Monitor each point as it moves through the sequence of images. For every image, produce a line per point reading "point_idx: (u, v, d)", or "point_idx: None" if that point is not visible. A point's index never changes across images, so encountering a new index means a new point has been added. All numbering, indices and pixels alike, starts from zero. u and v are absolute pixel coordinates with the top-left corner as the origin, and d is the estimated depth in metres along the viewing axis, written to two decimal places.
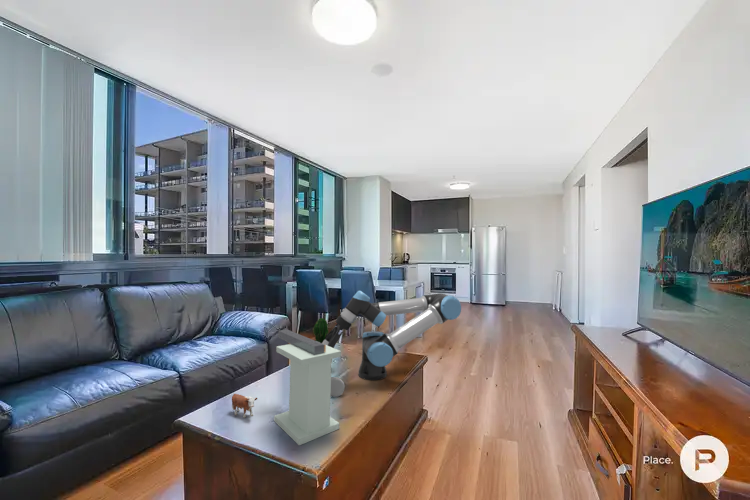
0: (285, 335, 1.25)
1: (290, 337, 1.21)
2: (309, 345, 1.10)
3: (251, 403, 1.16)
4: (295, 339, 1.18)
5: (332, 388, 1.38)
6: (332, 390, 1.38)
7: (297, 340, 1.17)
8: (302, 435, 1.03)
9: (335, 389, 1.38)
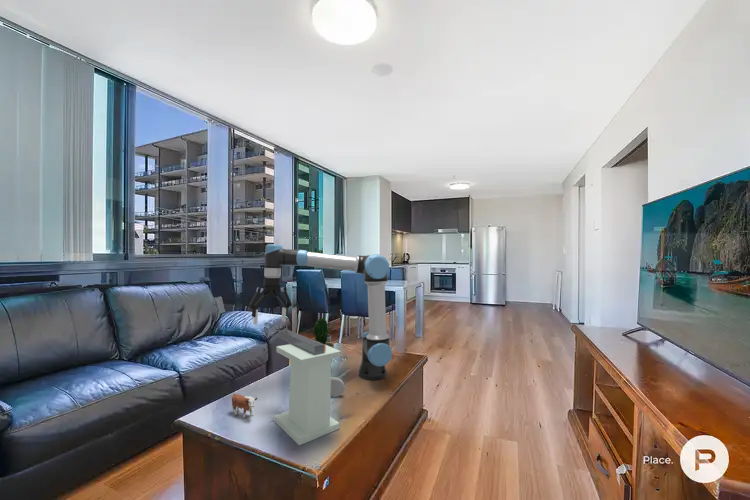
0: (285, 335, 1.25)
1: (290, 337, 1.21)
2: (309, 345, 1.10)
3: (251, 403, 1.16)
4: (295, 339, 1.18)
5: (332, 388, 1.37)
6: (332, 390, 1.37)
7: (297, 340, 1.17)
8: (302, 435, 1.03)
9: (335, 389, 1.37)
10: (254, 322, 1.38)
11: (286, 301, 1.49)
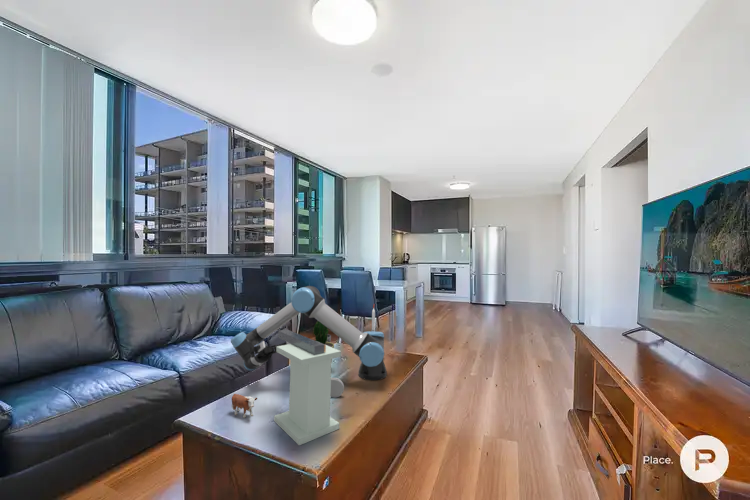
0: (285, 335, 1.25)
1: (290, 337, 1.21)
2: (309, 345, 1.10)
3: (251, 403, 1.16)
4: (295, 339, 1.18)
5: (331, 389, 1.37)
6: (331, 391, 1.37)
7: (297, 340, 1.17)
8: (302, 435, 1.03)
9: (334, 390, 1.37)
10: (262, 344, 1.30)
11: None
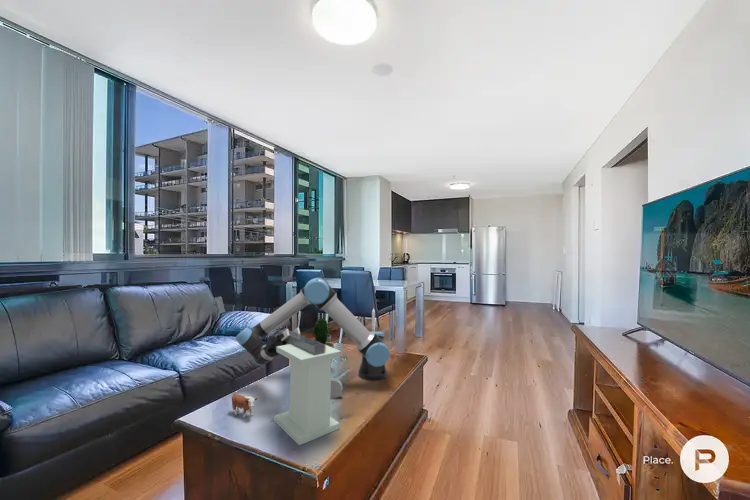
0: None
1: (290, 337, 1.21)
2: (309, 345, 1.10)
3: (251, 403, 1.16)
4: (295, 339, 1.18)
5: None
6: None
7: (297, 340, 1.17)
8: (302, 435, 1.03)
9: (333, 390, 1.36)
10: (286, 333, 1.23)
11: None
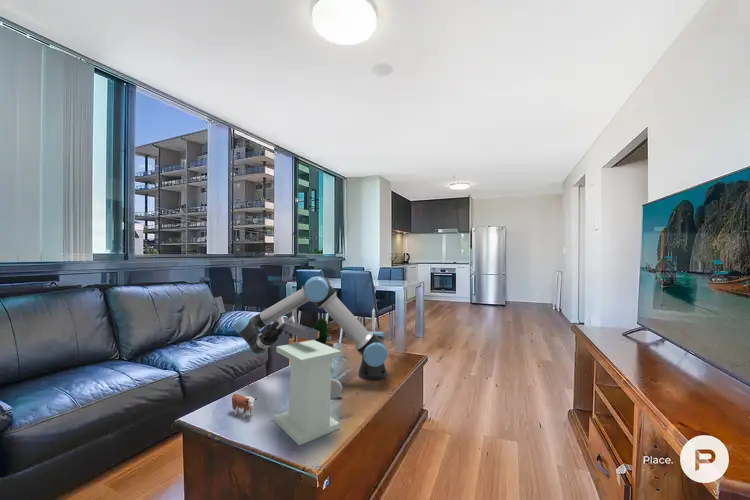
0: None
1: (285, 325, 1.25)
2: (303, 331, 1.14)
3: (251, 403, 1.16)
4: (290, 326, 1.22)
5: None
6: None
7: (292, 327, 1.20)
8: (302, 435, 1.03)
9: (332, 391, 1.36)
10: (281, 320, 1.26)
11: None
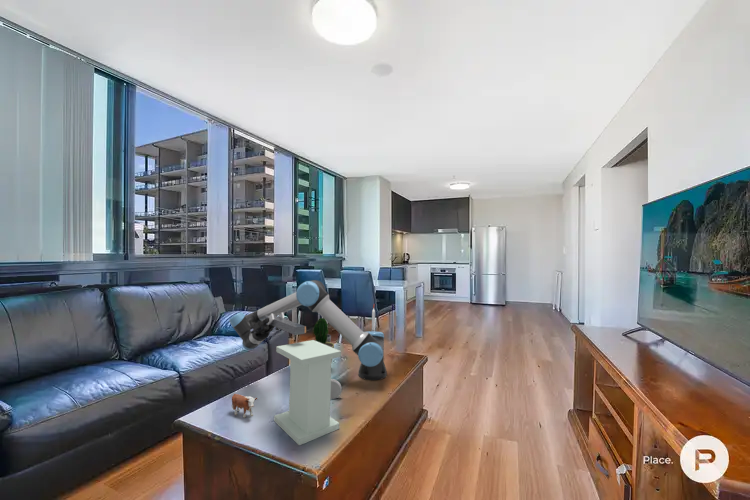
0: None
1: (275, 321, 1.32)
2: (291, 326, 1.21)
3: (251, 403, 1.16)
4: (279, 322, 1.29)
5: None
6: None
7: (281, 323, 1.28)
8: (302, 435, 1.03)
9: (332, 391, 1.35)
10: (271, 317, 1.33)
11: None
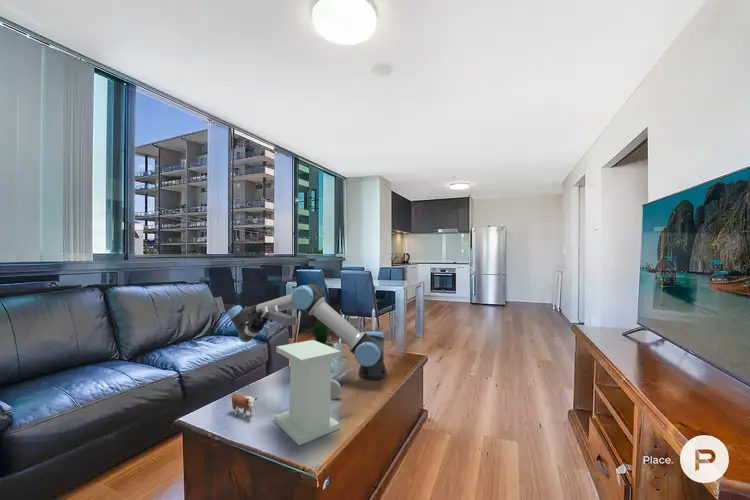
0: None
1: (268, 313, 1.38)
2: (283, 318, 1.27)
3: (251, 403, 1.16)
4: (272, 314, 1.35)
5: None
6: None
7: (274, 315, 1.34)
8: (302, 435, 1.03)
9: (331, 391, 1.35)
10: (265, 309, 1.39)
11: None
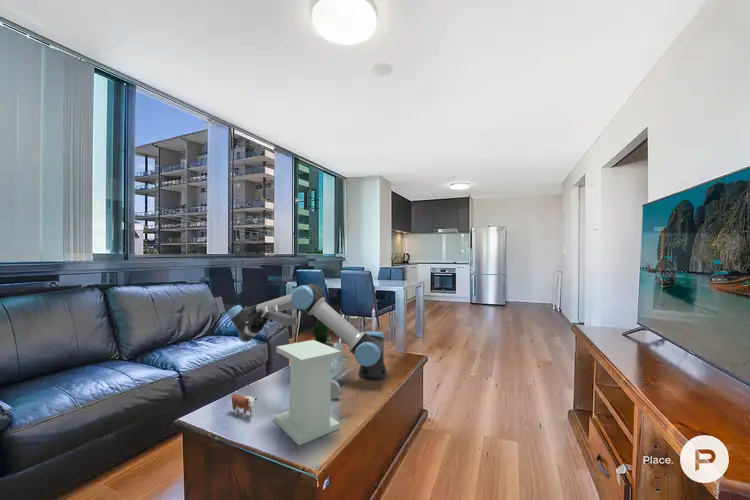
0: None
1: (268, 313, 1.38)
2: (283, 318, 1.27)
3: (251, 403, 1.16)
4: (272, 314, 1.35)
5: None
6: None
7: (274, 315, 1.34)
8: (302, 435, 1.03)
9: None
10: (265, 309, 1.39)
11: None
